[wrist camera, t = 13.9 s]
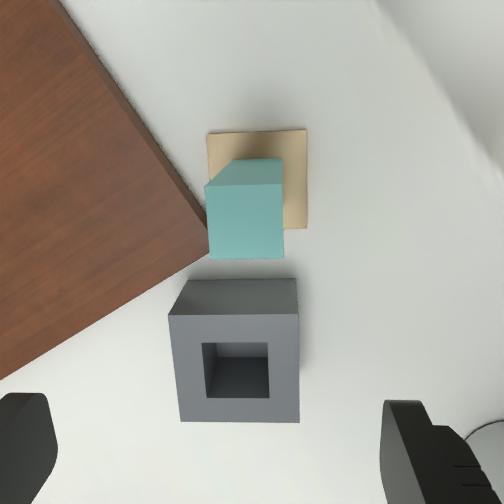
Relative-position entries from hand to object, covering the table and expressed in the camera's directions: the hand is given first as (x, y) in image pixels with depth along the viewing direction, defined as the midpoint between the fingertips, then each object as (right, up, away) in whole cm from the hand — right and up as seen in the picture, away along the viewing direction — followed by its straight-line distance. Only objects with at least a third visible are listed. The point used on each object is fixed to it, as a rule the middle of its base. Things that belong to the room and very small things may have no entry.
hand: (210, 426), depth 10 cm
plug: (+1, +10, +24) cm, 26 cm away
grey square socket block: (0, -3, +30) cm, 30 cm away
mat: (+2, +10, +25) cm, 27 cm away
